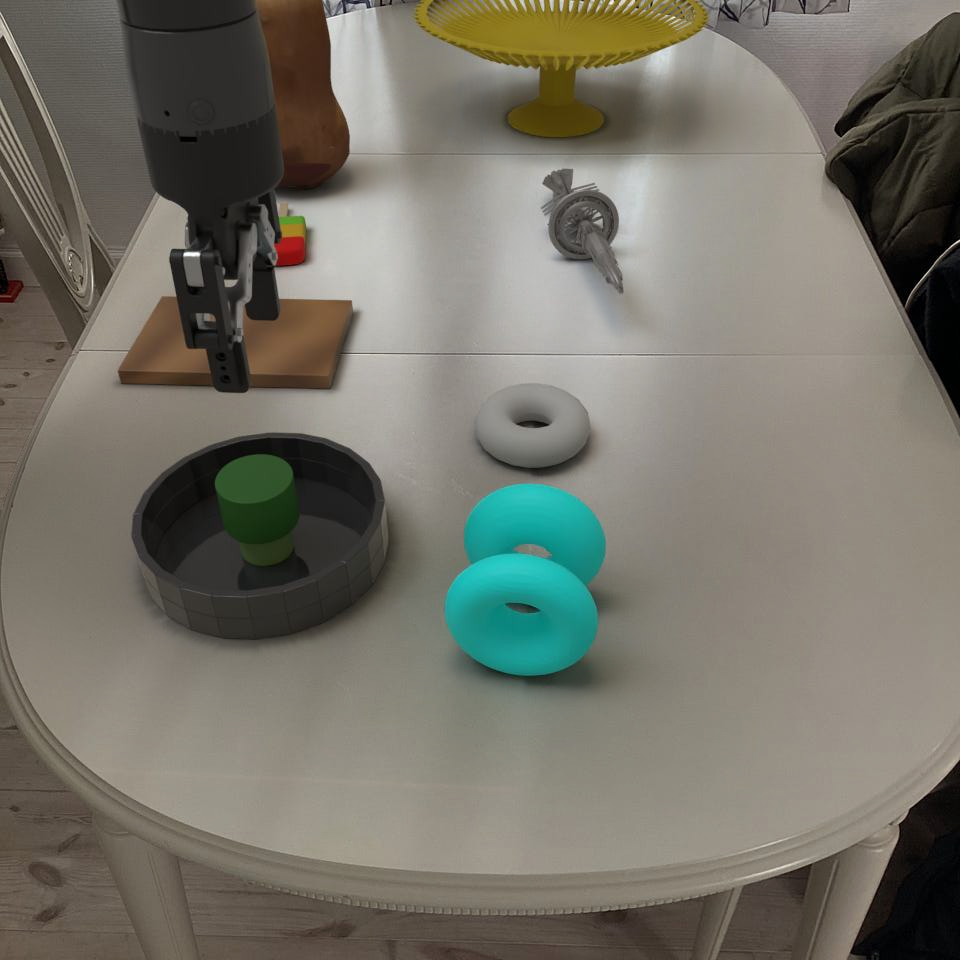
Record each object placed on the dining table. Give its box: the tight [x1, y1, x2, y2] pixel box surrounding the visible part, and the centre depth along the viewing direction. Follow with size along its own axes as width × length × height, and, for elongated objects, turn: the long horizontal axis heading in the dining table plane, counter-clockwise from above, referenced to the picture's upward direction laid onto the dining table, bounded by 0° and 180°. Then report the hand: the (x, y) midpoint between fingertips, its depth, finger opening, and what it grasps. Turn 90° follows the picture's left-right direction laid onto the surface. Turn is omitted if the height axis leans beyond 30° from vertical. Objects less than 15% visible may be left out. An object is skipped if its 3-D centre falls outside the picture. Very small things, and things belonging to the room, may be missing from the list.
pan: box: [130, 432, 390, 640], centre depth 77 cm, size 18×18×4 cm
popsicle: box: [274, 201, 307, 267], centre depth 119 cm, size 6×15×2 cm, turn 6°
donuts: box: [444, 483, 607, 677], centre depth 69 cm, size 10×10×10 cm
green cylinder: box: [215, 454, 300, 566], centre depth 76 cm, size 6×6×7 cm
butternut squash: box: [257, 0, 351, 191], centre depth 123 cm, size 14×13×25 cm
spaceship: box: [540, 168, 624, 295], centre depth 112 cm, size 8×35×8 cm
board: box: [117, 295, 354, 390], centre depth 100 cm, size 20×14×2 cm
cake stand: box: [412, 0, 711, 138], centre depth 143 cm, size 40×40×15 cm
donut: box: [474, 382, 592, 469], centre depth 88 cm, size 10×3×10 cm
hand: (249, 352), depth 66 cm, fingers open, 8 cm apart
